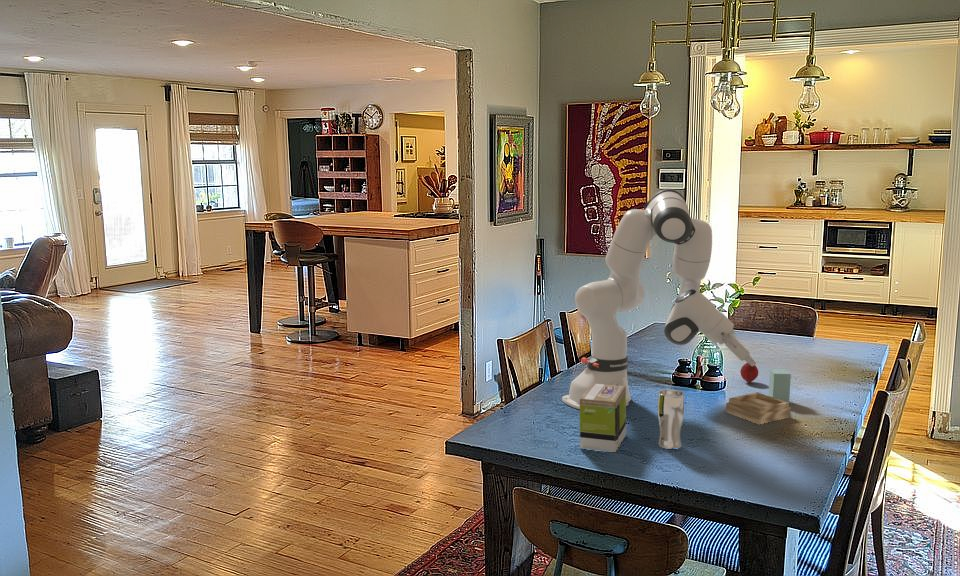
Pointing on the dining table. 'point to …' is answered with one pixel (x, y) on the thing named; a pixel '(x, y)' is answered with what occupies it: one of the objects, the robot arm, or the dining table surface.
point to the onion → (749, 372)
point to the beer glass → (670, 417)
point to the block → (779, 384)
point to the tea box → (603, 417)
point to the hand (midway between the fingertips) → (750, 360)
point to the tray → (758, 408)
